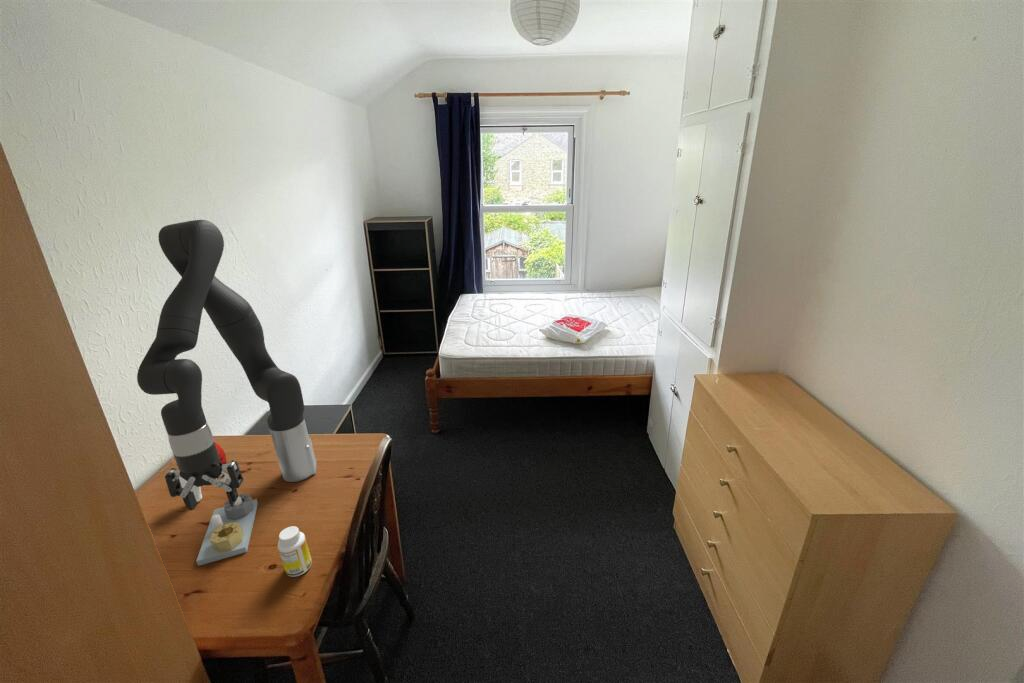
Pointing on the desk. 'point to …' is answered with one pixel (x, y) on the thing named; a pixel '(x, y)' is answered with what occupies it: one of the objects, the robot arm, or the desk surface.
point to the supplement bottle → (294, 551)
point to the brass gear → (227, 537)
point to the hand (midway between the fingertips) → (213, 504)
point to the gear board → (237, 513)
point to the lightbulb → (195, 489)
